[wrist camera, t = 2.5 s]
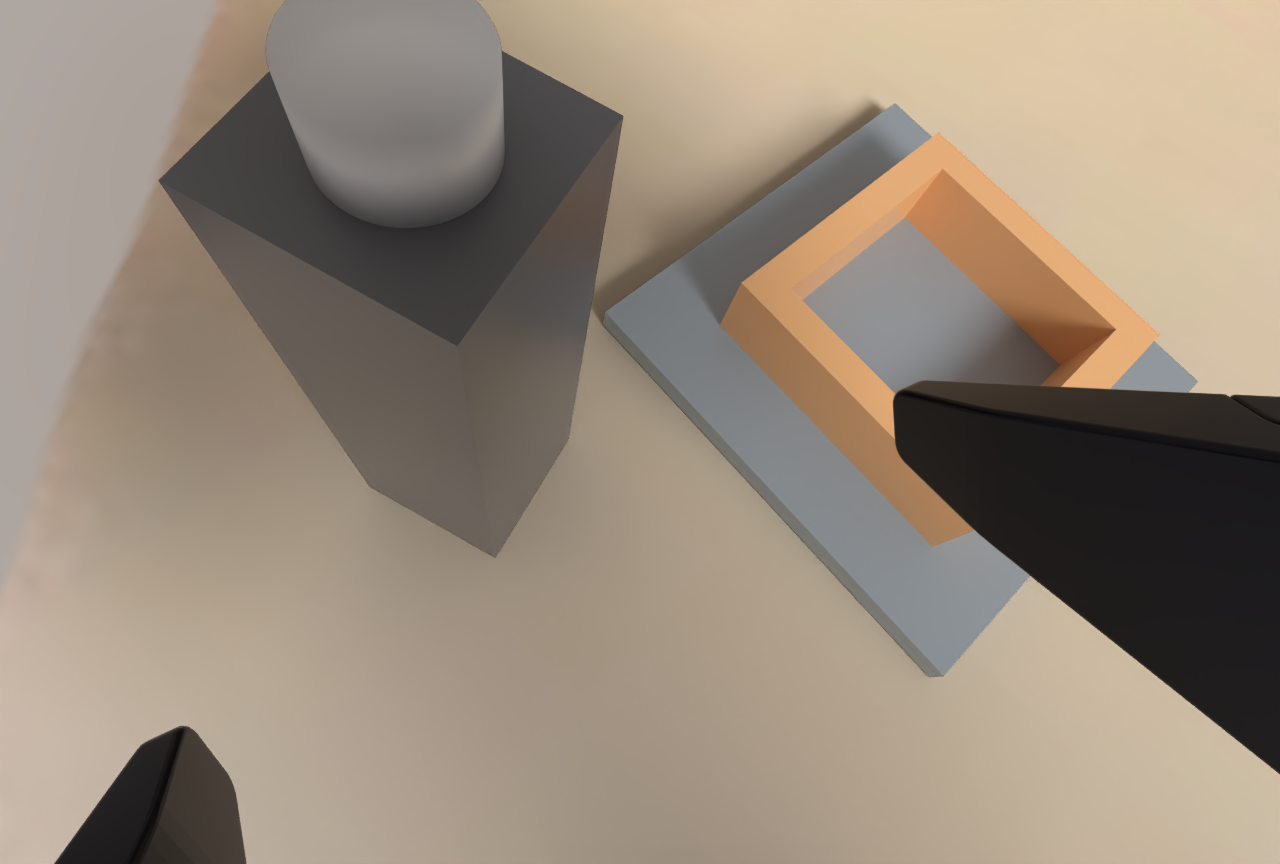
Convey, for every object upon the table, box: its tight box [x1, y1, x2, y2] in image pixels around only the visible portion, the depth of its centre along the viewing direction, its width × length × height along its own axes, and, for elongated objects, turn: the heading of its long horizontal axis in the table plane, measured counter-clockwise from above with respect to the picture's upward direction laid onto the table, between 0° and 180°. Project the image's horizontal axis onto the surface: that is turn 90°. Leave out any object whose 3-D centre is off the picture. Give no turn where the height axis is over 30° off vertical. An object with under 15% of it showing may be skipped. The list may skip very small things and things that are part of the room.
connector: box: [159, 0, 623, 558], centre depth 15 cm, size 4×4×14 cm
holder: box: [603, 104, 1198, 677], centre depth 23 cm, size 14×14×3 cm
